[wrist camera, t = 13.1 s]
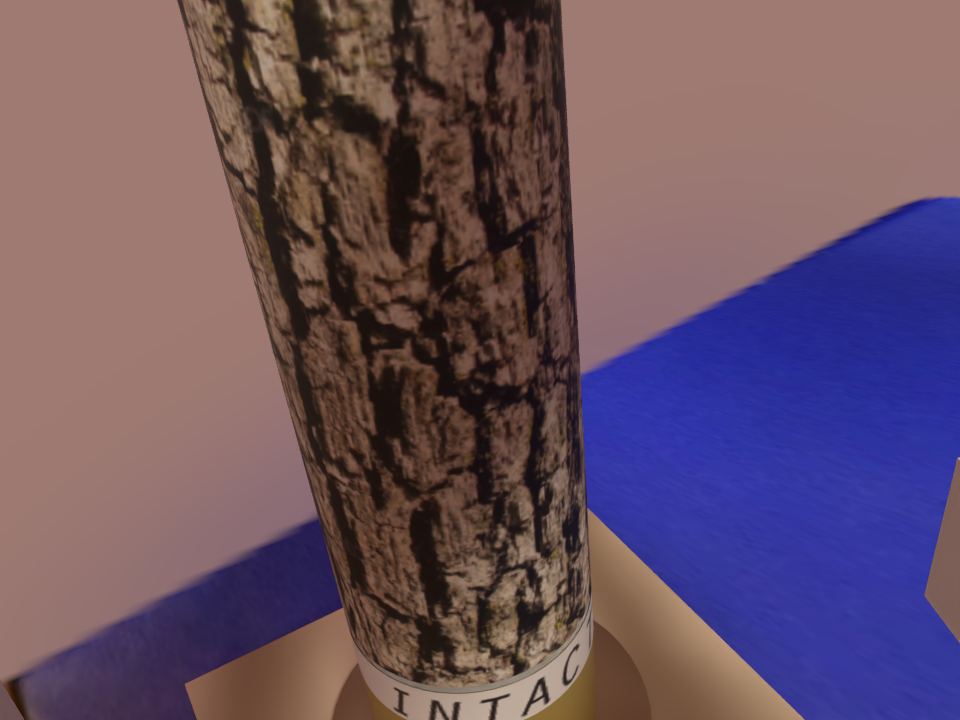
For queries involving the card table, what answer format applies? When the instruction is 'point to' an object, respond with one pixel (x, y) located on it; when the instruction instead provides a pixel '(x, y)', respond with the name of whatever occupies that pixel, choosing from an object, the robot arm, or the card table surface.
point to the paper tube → (422, 328)
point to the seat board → (617, 655)
